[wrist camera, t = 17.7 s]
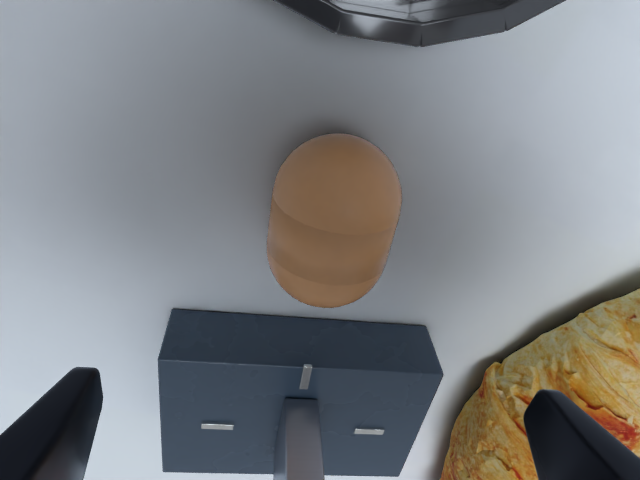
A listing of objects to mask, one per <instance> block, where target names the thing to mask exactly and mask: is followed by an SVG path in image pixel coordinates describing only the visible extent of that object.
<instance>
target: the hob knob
mask: <svg viewBox="0 0 640 480" xmlns="http://www.w3.org/2000/svg"><path fill="white" fill-rule="evenodd" d="M273 480H324V467H323V454H322V442H321V429H320V417H319V404H318V400H312V399H292V398H286V399H285V400H284V404H283V409H282V414H281V419H280V425H279V430H278V435H277V440H276V445H275V451H274V477H273Z"/></svg>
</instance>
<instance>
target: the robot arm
mask: <svg viewBox="0 0 640 480" xmlns="http://www.w3.org/2000/svg"><path fill="white" fill-rule="evenodd" d="M102 403H103V393H102V386H101V379H100V373H99V370H98V369H97V368H90V367H76V368H74V369H72V370H71V371H70V372H68V373H67V374H66V375H65V376H64V377H63V378H62V379H61V380H60V381H59V382H58V383H56V384H55V385H54V386H53V387H52V388H51V389H50V390H49V391H48V392H47V393H46V394H44V395H43V396H42V397H41V398H40V399H39V400H38V401H37V402H36V403H35V404H34V405H33V406H31V407H30V408H29V409H28V410H27V411H26V412H25V413H24V414H23V415H22V416H21V417H19V418H18V419H17V420H16V421H15V422H14V423H13V424H12V425H11V426H10V427H9V428H7V429H6V430H5V431H4V432H3V433H2V434H1V435H0V480H83V478H84V475H85V471H86V467H87V463H88V459H89V455H90V451H91V447H92V443H93V440H94V436H95V432H96V428H97V424H98V420H99V416H100V412H101V408H102ZM523 421H524V427H525V430H526V434H527V438H528V442H529V446H530V449H531V453H532V457H533V461H534V465H535V468H536V472H537V476H538V480H640V458H639V457H638V456H637V455H636V454H634V453H633V452H632V451H631V450H630V449H629V448H627V447H626V446H625V445H624V444H623V443H621V442H620V441H619V440H618V439H617V438H615V437H614V436H613V435H612V434H611V433H610V432H608V431H607V430H606V429H605V428H604V427H602V426H601V425H600V424H599V423H598V422H597V421H595V420H594V419H593V418H592V417H591V416H589V415H588V414H587V413H586V412H585V411H583V410H582V409H581V408H580V407H579V406H578V405H576V404H575V403H574V402H573V401H572V400H570V399H569V398H568V397H567V396H566V395H565V394H563V393H562V392H560V391H558V390H551V389H541V390H539V391H537V393H536V394H535V396H534V397H533V399H532V400H531V402H530V404H529V405H528V407H527V408H526V410H525V412H524V417H523Z"/></svg>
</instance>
